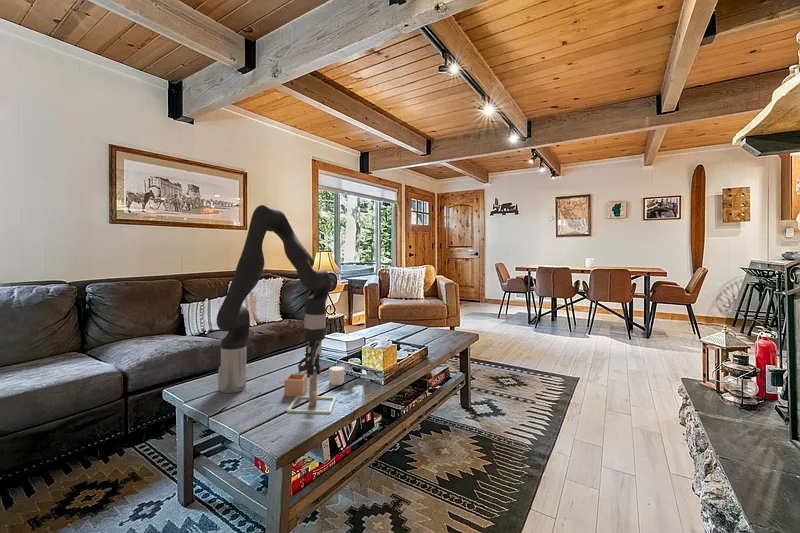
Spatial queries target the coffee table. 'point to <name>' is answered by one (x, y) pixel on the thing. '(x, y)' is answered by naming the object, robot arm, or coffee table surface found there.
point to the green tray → (311, 410)
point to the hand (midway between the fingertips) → (313, 370)
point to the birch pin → (312, 390)
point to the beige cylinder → (336, 375)
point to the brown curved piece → (304, 367)
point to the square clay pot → (295, 384)
